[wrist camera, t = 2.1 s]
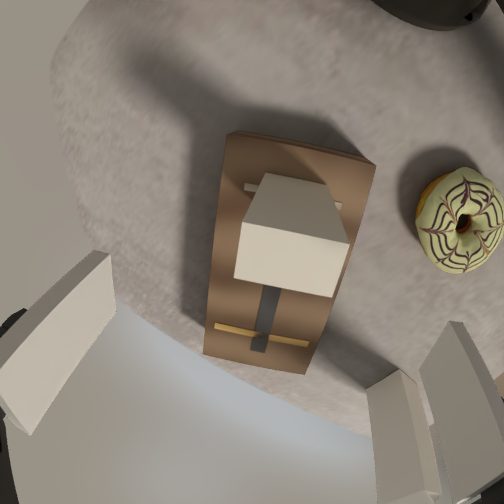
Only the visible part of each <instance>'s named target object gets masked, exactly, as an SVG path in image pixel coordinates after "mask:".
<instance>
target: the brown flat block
mask: <svg viewBox="0 0 504 504" xmlns="http://www.w3.org/2000/svg"><path fill="white" fill-rule="evenodd" d="M375 169H376V165H375V164H373V163H372V162H371V161H369V160H368V159H367V158H364V157H361V156H357V155H353V154H349V153H345V152H341V151H337V150H333V149H329V148H325V147H320V146H316V145H311V144H307V143H302V142H297V141H292V140H287V139H282V138H277V137H271V136H266V135H260V134H254V133H248V132H242V131H235V132H232V133H229V134H227V139H226V146H225V153H224V160H223V168H222V175H221V183H220V191H219V199H218V207H217V215H216V224H215V232H214V241H213V250H212V260H211V269H210V279H209V290H208V300H207V311H206V323H205V335H204V348H203V354H204V355H208V356H212V357H216V358H221V359H225V360H229V361H234V362H238V363H243V364H248V365H253V366H258V367H263V368H268V369H274V370H279V371H285V372H291V373H297V374H303V375H305V373H306V371H307V368H308V366H309V364H310V361H311V359H312V357H313V354H314V352H315V349H316V347H317V345H318V342H319V340H320V337H321V335H322V332H323V330H324V327H325V325H326V322H327V319H328V317H329V314H330V311H331V309H332V306H333V303H334V301H335V298H336V295H337V293H338V290H339V287H340V284H341V281H342V278H343V276H344V273H345V270H346V267H347V264H348V261H349V258H350V255H351V252H352V249H353V246H354V242H355V239H356V236H357V233H358V230H359V226H360V223H361V220H362V216H363V213H364V210H365V206H366V203H367V199H368V196H369V192H370V188H371V185H372V181H373V177H374V173H375ZM265 173H271V174H276V175H281V176H286V177H291V178H296V179H301V180H305V181H310V182H315V183H319V184H323V185H328V187H329V189H330V192H331V194H332V197H333V200H334V202H335V205H336V208H337V210H338V213H339V216H340V218H341V221H342V224H343V227H344V229H345V232H346V235H347V238H348V241H349V244H350V245H349V249H348V252H347V255H346V258H345V261H344V264H343V267H342V270H341V273H340V276H339V279H338V282H337V285H336V287H335V290H334V293H333V296H332V298H331V297H326V296H321V295H315V294H310V293H305V292H300V291H295V290H290V289H285V288H280V287H275V286H270V285H265V284H260V283H255V282H251V281H246V280H241V279H236V278H234V272H235V266H236V259H237V252H238V246H239V239H240V233H241V226H242V221H243V219H244V217H245V215H246V213H247V211H248V209H249V206H250V204H251V202H252V200H253V198H254V196H255V194H256V192H257V190H258V188H259V185H260V183H261V181H262V179H263V177H264V175H265Z"/></svg>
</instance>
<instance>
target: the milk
mask: <svg viewBox="0 0 504 504" xmlns="http://www.w3.org/2000/svg"><path fill="white" fill-rule="evenodd" d="M366 393H367V400H368V407H369V415H370V423H371V431H372V440H373V449H374V460H375V472H376V485H377V504H436V502H437V501H438V499H439V498H440V496H441V494H442V492H441V485H440V480H439V474H438V469H437V463H436V458H435V453H434V449H433V444H432V440H431V435H430V431H429V427H428V423H427V419H426V415H425V411H424V407H423V404H422V400H421V396H420V393H419V389H418V386H417V384H416V383H415V382H414V381H412V380H411V379H410V378H409V377H408V376H407V375H406V374H405V373H403V372H402V371H401V370H400V369H398V370H397V371H395V372H394V373H392V374H391V375H389V376H387V377H386V378H384V379H382V380H381V381H379V382H377V383H376V384H374V385H372V386H371V387H369V388H367V389H366Z"/></svg>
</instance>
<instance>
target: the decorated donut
mask: <svg viewBox="0 0 504 504" xmlns="http://www.w3.org/2000/svg"><path fill="white" fill-rule="evenodd" d="M461 214H467V215H468V223H467V225H466V226H465V227H463V228H461V229H455V228H456V225H457V222H458V219H459V216H460V215H461ZM415 224H416V227H417V232H418V235H419V239H420V243H421V246H422V248H423V250H424V252H425V254H426V255H427V256H428V258H429V259H430V260H431V261H432V262H433V263H434V264H435V265H436V266H437V267H439V268H440V269H441V270H443V271H446V272H448V273H454V274H457V273H465V272H468V271H470V270H474V269H475V268H477V267H479V266H480V265H481V264H483V263H484V262H485V261H486V260H487V259H488V257H489V256H490V255H491V254H492V252H493V251H494V250H495V248H496V247H497V245H498V244H499V242H500V240H501V238H502V236H503V233H504V204H503V197H502V195H501V193H500V191H498V190H497V189H496V188H495V186H494V184H493V182H492V181H491V180H489V179H487V178H485V177H483V176H482V175H481V174H479V173H478V172H477V171H475V170H473V169H471V168H468V167H462V168H459V169H457V170H456V171H455V172H449V173H447V174H445V175H442V176H440V177H439V178H437V179H435V180H434V181H432V182H431V183H430V184H429V185H428V186H427V187H426V189H424V190H423V192H422V194H421V197H420V201H419V203H418V206H417V210H416V215H415Z"/></svg>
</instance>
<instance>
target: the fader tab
mask: <svg viewBox="0 0 504 504" xmlns="http://www.w3.org/2000/svg"><path fill="white" fill-rule="evenodd" d="M349 245H350V244H349V241H348V238H347V235H346V232H345V229H344V227H343V224H342V221H341V218H340V216H339V213H338V210H337V208H336V205H335V202H334V200H333V197H332V194H331V192H330V189H329V187H328V185H323V184H319V183H315V182H310V181H305V180H301V179H296V178H291V177H286V176H281V175H276V174H271V173H265V175H264V177H263V179H262V181H261V183H260V185H259V188H258V190H257V192H256V194H255V196H254V198H253V200H252V202H251V204H250V206H249V209H248V211H247V213H246V215H245V217H244V219H243V221H242V226H241V233H240V239H239V246H238V252H237V259H236V266H235V272H234V278H236V279H241V280H246V281H251V282H255V283H260V284H265V285H270V286H275V287H280V288H285V289H290V290H295V291H300V292H305V293H310V294H315V295H321V296H326V297H331V298H332V296H333V293H334V290H335V287H336V285H337V282H338V279H339V276H340V273H341V270H342V267H343V264H344V261H345V258H346V255H347V252H348V249H349Z"/></svg>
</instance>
